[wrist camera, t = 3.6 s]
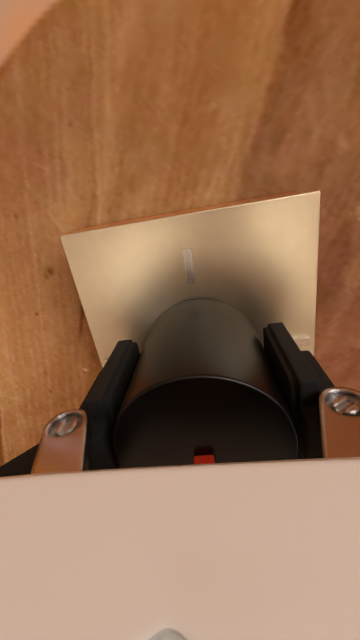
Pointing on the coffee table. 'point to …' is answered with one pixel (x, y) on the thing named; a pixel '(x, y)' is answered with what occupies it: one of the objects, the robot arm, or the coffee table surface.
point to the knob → (203, 394)
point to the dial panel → (200, 266)
